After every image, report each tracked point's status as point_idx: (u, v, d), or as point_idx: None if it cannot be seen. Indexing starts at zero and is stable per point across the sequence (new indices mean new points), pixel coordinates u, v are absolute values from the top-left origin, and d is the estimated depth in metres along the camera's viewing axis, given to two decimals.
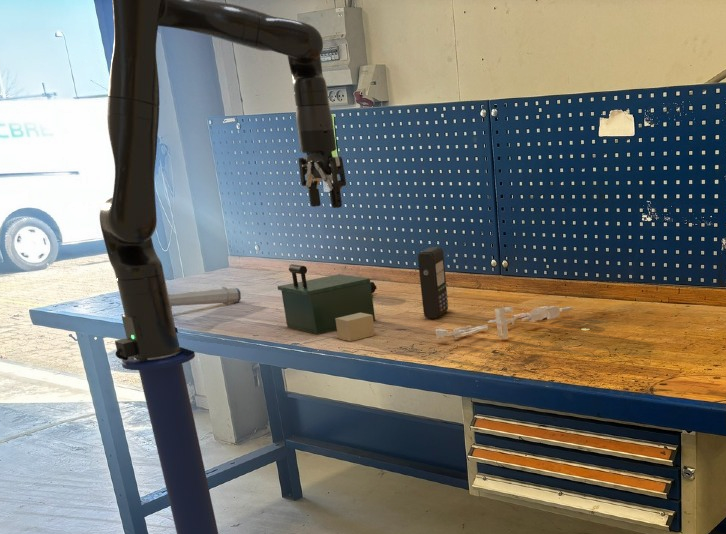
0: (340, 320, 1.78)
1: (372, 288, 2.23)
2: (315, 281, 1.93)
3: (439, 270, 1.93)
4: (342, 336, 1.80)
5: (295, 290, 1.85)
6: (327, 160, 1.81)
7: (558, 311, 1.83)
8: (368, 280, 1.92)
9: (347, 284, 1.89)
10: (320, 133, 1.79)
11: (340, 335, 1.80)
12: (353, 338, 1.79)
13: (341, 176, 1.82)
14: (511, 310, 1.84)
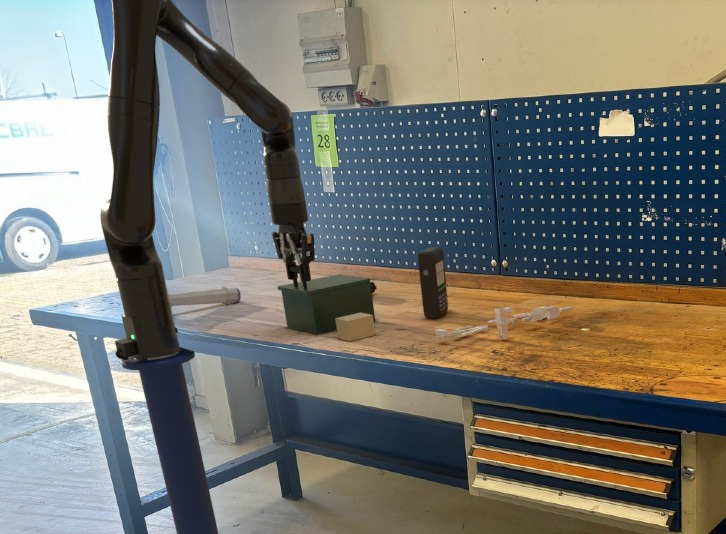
0: (340, 320, 1.78)
1: (372, 288, 2.23)
2: (315, 281, 1.93)
3: (439, 270, 1.93)
4: (342, 336, 1.80)
5: (295, 290, 1.85)
6: (298, 232, 1.80)
7: (558, 311, 1.83)
8: (368, 280, 1.92)
9: (347, 284, 1.89)
10: (291, 206, 1.78)
11: (340, 335, 1.80)
12: (353, 338, 1.79)
13: (310, 252, 1.82)
14: (511, 310, 1.84)
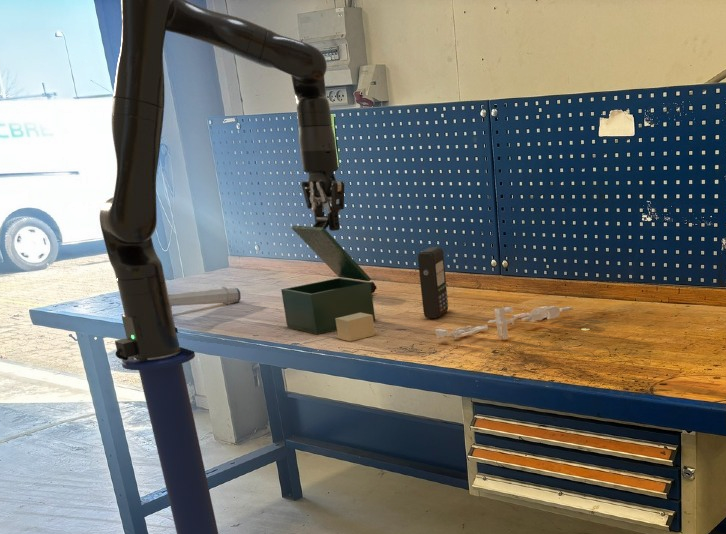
0: (340, 320, 1.78)
1: (372, 288, 2.23)
2: None
3: (439, 270, 1.93)
4: (342, 336, 1.80)
5: (311, 227, 1.85)
6: (329, 180, 1.82)
7: (558, 311, 1.83)
8: (369, 278, 1.92)
9: (353, 261, 1.88)
10: (322, 153, 1.80)
11: (340, 335, 1.80)
12: (353, 338, 1.79)
13: (340, 200, 1.84)
14: (511, 310, 1.84)
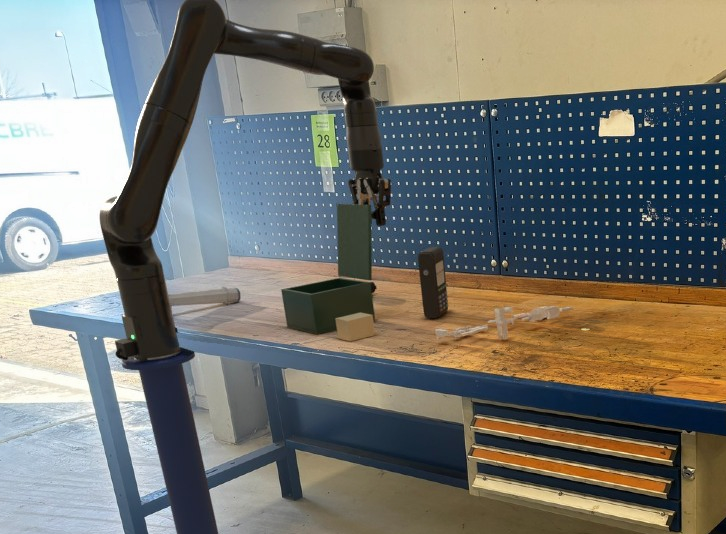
0: (340, 320, 1.78)
1: (372, 288, 2.23)
2: None
3: (439, 270, 1.93)
4: (342, 336, 1.80)
5: None
6: (376, 177, 1.90)
7: (558, 311, 1.83)
8: (370, 278, 1.92)
9: (370, 252, 1.91)
10: (370, 152, 1.88)
11: (340, 335, 1.80)
12: (353, 338, 1.79)
13: (387, 196, 1.92)
14: (511, 310, 1.84)
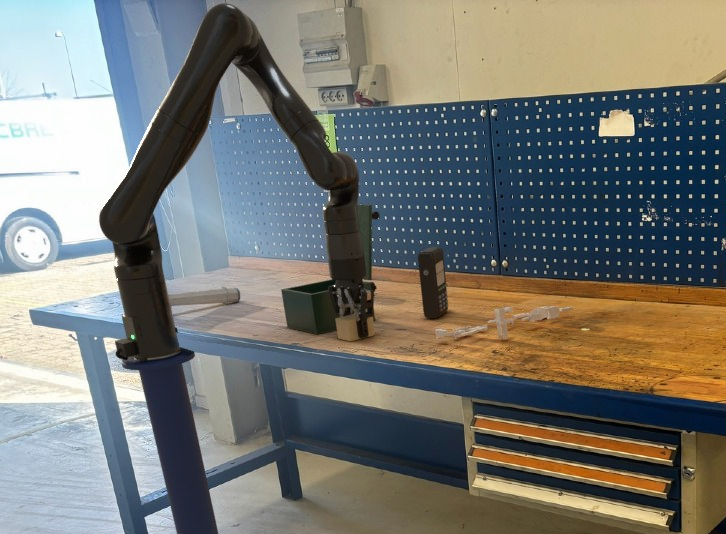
0: (340, 320, 1.78)
1: (372, 288, 2.23)
2: None
3: (439, 270, 1.93)
4: (342, 336, 1.80)
5: None
6: (358, 288, 1.75)
7: (558, 311, 1.83)
8: (370, 277, 1.92)
9: (370, 252, 1.91)
10: (351, 261, 1.73)
11: (340, 335, 1.80)
12: (353, 338, 1.79)
13: (369, 308, 1.76)
14: (511, 310, 1.84)
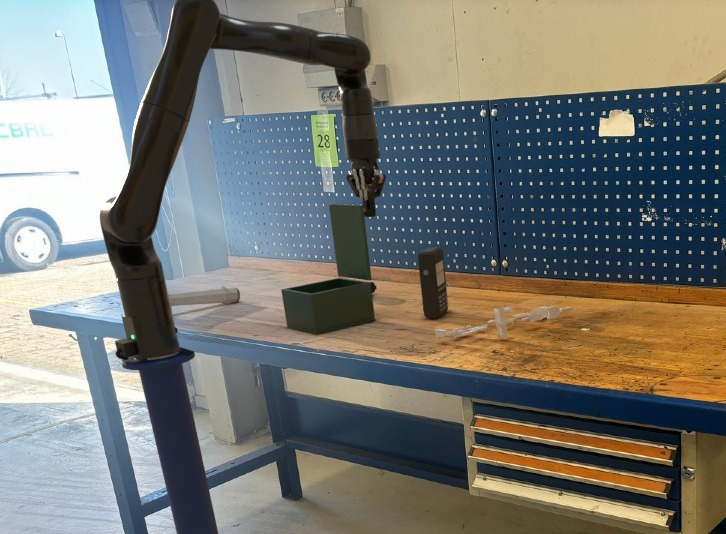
0: None
1: (372, 288, 2.23)
2: None
3: (439, 270, 1.93)
4: None
5: None
6: (372, 167, 1.89)
7: (558, 311, 1.83)
8: (370, 278, 1.92)
9: (367, 252, 1.90)
10: (366, 141, 1.87)
11: None
12: None
13: (378, 189, 1.92)
14: (511, 310, 1.84)
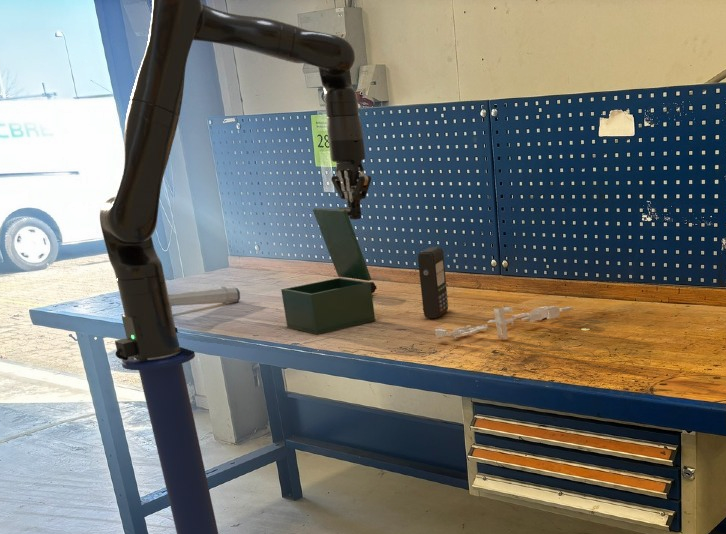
0: None
1: (372, 288, 2.23)
2: None
3: (439, 270, 1.93)
4: None
5: (333, 209, 1.87)
6: (357, 169, 1.86)
7: (558, 311, 1.83)
8: (369, 278, 1.92)
9: (361, 254, 1.89)
10: (350, 142, 1.85)
11: None
12: None
13: (363, 191, 1.90)
14: (511, 310, 1.84)
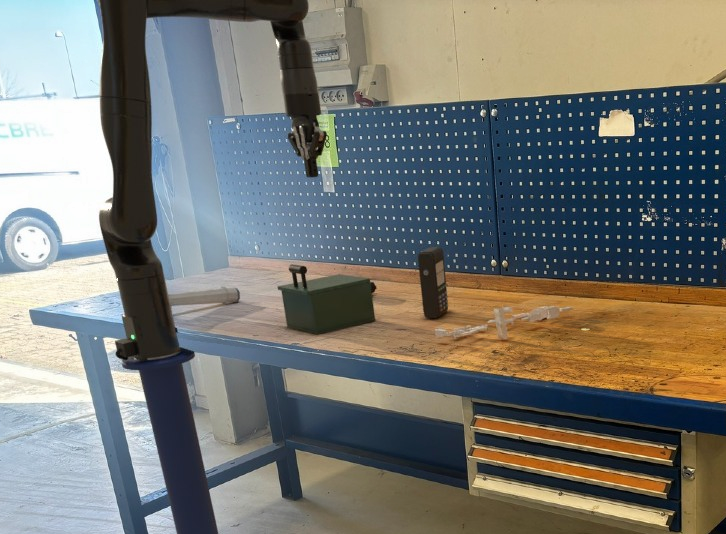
0: None
1: (372, 288, 2.23)
2: (315, 281, 1.93)
3: (439, 270, 1.93)
4: None
5: (295, 290, 1.85)
6: (312, 124, 1.81)
7: (558, 311, 1.83)
8: (368, 280, 1.92)
9: (347, 284, 1.89)
10: (305, 96, 1.79)
11: None
12: None
13: (319, 147, 1.84)
14: (511, 310, 1.84)
